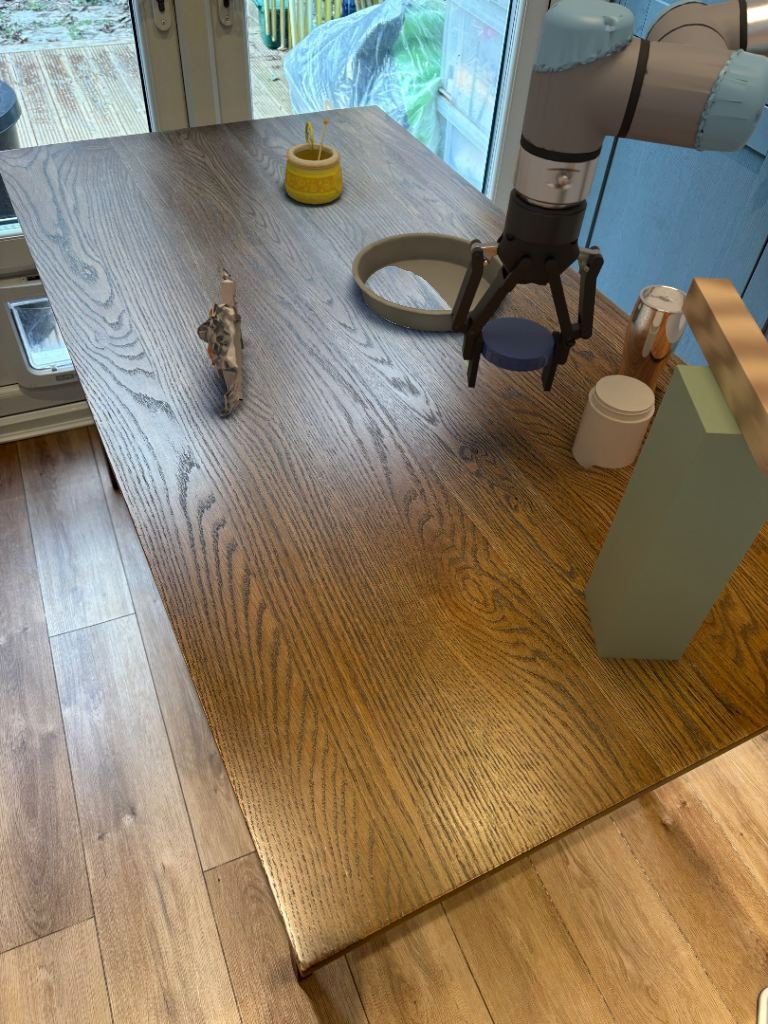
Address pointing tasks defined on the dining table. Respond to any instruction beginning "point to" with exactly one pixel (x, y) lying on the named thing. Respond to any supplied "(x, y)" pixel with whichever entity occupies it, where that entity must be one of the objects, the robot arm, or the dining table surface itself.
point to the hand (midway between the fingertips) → (508, 382)
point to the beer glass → (653, 333)
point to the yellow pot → (313, 171)
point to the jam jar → (613, 422)
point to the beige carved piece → (225, 341)
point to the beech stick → (733, 356)
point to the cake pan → (421, 274)
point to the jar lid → (517, 344)
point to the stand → (677, 525)
